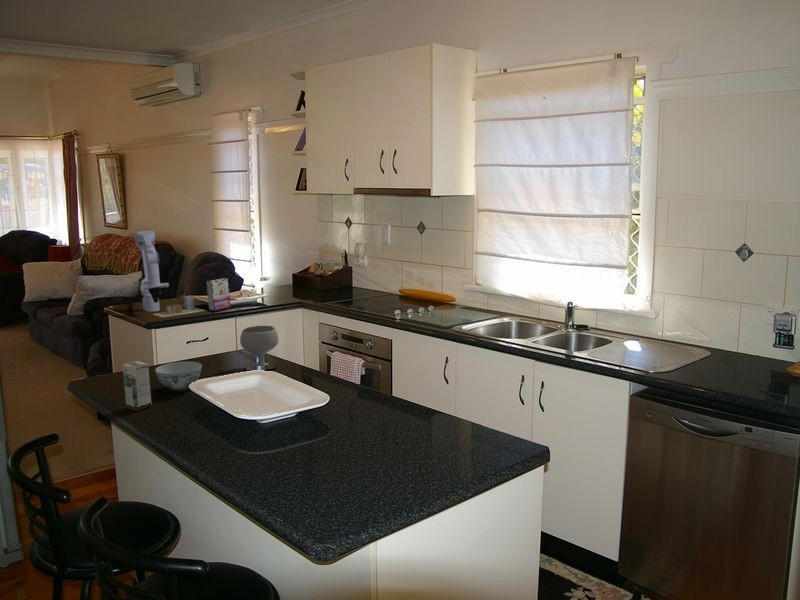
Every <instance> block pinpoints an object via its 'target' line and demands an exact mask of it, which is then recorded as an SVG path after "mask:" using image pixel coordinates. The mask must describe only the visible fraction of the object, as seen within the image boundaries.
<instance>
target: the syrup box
mask: <svg viewBox="0 0 800 600" xmlns="http://www.w3.org/2000/svg"><path fill="white" fill-rule="evenodd" d="M122 372H123V385H124V396H125V405H126V404H127V405H129V406H132V407H140V406H142V405H146V404H149V403H151V404H152V395H151V385H150V373H149V372H150V369H149V363H148V362H147V363H145V362H142V361H139V360H138V361H131V362H126V363H124V364H122Z"/></svg>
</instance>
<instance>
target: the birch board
mask: <svg viewBox="0 0 800 600" xmlns="http://www.w3.org/2000/svg"><path fill="white" fill-rule="evenodd" d="M206 311H207V310H206V309H203V308H202V309H201V308H198V307H195V309H191V310H186V309H184V308H182V313H176V314H167V313H166V311H163V312H157V313H156V312H155V313H152V315H153V316H157V317H160V318H163V319H164V318H169V317H170V318H171V317H177V316H182V315H188V314H189V315H190V314H195V313H201V312H206Z"/></svg>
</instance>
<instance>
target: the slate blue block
mask: <svg viewBox="0 0 800 600" xmlns="http://www.w3.org/2000/svg"><path fill="white" fill-rule="evenodd" d="M182 297H183V307H184V308H183V309H186V310H191V309H195V308H196V307H195V297H194V295H184V296H182Z"/></svg>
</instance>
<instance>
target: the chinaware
mask: <svg viewBox="0 0 800 600" xmlns="http://www.w3.org/2000/svg"><path fill="white" fill-rule="evenodd" d="M154 370H155V374H156V376H157V378H158V380H159V382H160V383H161V384H162V385H163V386H165V387H166V388H168V389H170V388H171V389H181V388H187V387H188V385H189V384H191V383H192V382H195V381H196V382H197V381H198V379H199V377H200V375H201V372H202V363H200V362H197V361H177V362H176V361H175V362H171V363H170V362H169V363H165V364H161V365H160V366H157V367H156V368H155V369H154ZM196 382H195V383H196Z"/></svg>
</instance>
